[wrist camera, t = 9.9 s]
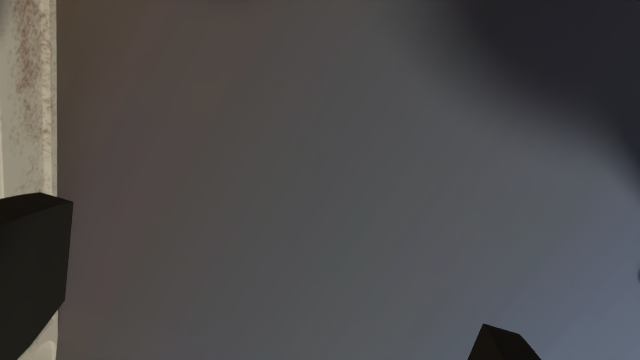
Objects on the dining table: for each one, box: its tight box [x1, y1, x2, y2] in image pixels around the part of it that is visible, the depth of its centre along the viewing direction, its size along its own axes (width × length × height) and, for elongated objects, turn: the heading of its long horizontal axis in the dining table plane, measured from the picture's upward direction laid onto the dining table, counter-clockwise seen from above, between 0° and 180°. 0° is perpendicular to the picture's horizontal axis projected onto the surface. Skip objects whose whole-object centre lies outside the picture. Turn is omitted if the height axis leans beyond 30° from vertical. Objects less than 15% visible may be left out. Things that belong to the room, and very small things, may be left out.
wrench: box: [0, 0, 58, 360], centre depth 16 cm, size 8×2×30 cm
